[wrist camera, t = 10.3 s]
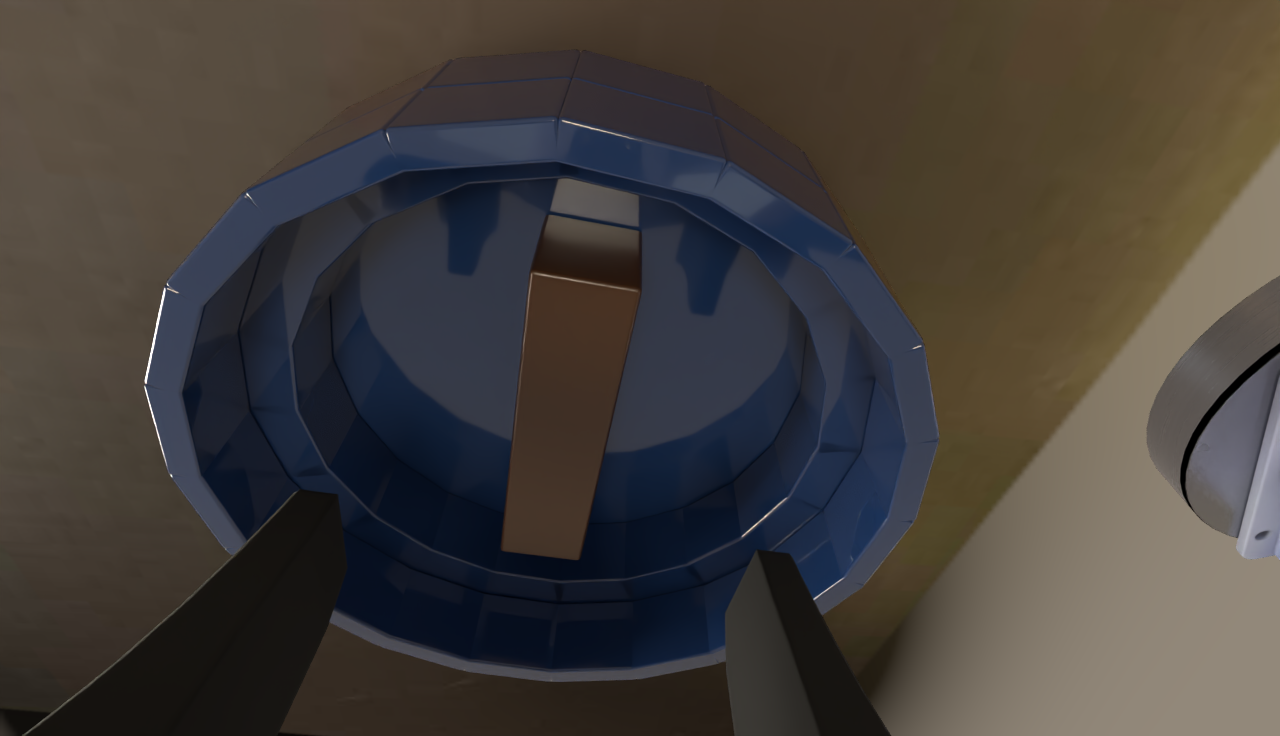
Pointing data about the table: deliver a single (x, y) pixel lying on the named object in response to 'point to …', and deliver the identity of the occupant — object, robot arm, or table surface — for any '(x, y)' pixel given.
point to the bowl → (490, 357)
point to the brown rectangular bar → (568, 380)
